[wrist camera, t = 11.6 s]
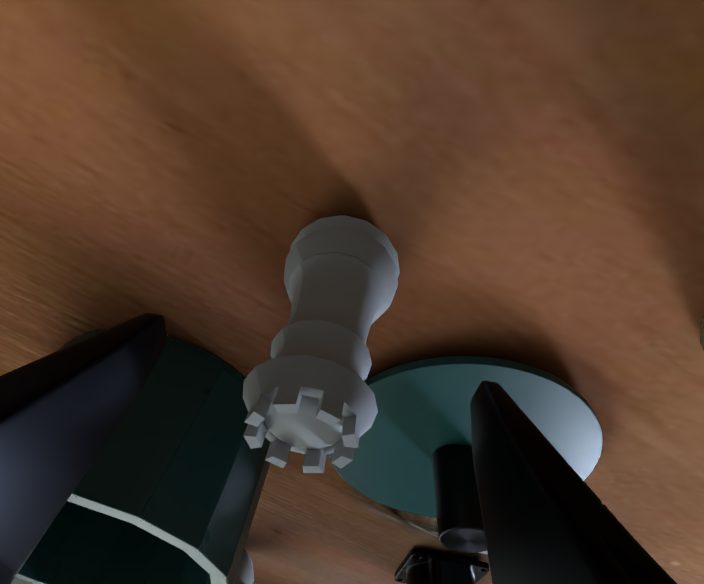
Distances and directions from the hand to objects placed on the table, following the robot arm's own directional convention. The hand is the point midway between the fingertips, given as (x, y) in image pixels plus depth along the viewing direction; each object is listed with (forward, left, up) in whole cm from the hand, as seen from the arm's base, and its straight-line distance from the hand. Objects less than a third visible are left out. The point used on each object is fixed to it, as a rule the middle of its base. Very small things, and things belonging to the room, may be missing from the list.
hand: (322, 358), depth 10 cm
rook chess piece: (0, 0, -6) cm, 6 cm away
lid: (-10, -8, -5) cm, 14 cm away
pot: (-13, +9, -5) cm, 17 cm away
